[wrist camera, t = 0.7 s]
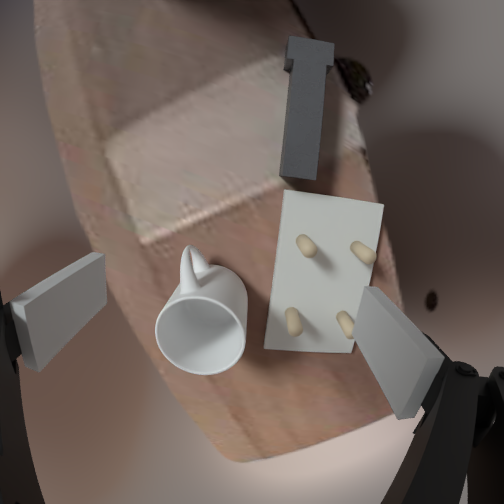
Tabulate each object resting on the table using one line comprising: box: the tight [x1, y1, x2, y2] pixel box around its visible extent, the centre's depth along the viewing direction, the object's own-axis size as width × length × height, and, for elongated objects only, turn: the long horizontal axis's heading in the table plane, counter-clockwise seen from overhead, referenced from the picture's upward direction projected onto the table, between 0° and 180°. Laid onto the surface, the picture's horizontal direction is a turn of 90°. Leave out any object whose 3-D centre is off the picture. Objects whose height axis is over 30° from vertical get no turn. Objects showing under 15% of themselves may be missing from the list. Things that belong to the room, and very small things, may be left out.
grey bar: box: [279, 36, 334, 180], centre depth 30 cm, size 16×5×4 cm, turn 174°
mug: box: [155, 245, 248, 375], centre depth 32 cm, size 9×12×11 cm
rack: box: [264, 189, 384, 353], centre depth 34 cm, size 20×12×6 cm, turn 174°
